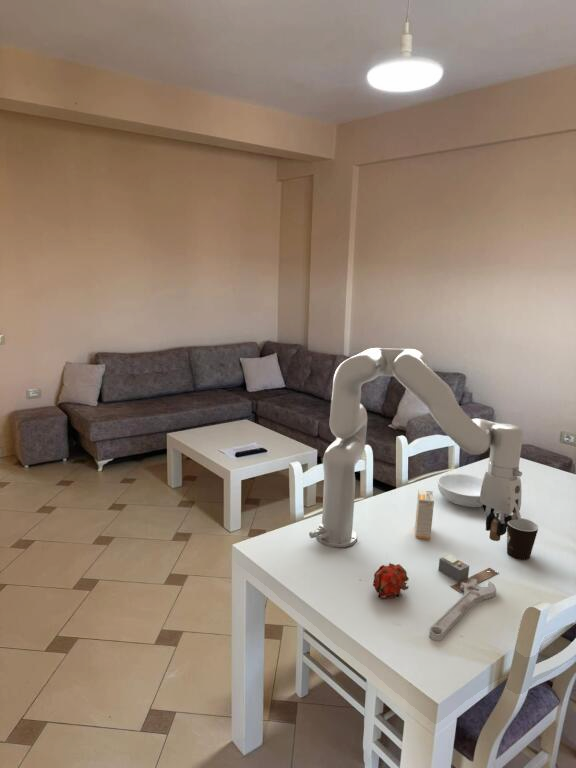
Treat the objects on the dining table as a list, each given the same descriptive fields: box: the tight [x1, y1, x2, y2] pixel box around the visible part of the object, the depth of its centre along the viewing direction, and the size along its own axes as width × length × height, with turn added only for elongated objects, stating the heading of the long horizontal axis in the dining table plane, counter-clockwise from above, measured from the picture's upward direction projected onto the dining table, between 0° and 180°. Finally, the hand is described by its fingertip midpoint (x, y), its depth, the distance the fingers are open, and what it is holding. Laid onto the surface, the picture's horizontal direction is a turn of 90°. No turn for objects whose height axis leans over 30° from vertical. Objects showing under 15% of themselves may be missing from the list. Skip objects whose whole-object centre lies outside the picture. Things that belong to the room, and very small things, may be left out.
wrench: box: [428, 579, 497, 642], centre depth 135 cm, size 8×2×30 cm
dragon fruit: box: [372, 562, 409, 600], centre depth 140 cm, size 8×8×12 cm
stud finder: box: [437, 554, 470, 583], centre depth 150 cm, size 4×7×4 cm, turn 35°
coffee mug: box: [506, 517, 539, 561], centre depth 162 cm, size 12×9×10 cm
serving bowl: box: [437, 473, 484, 508], centre depth 197 cm, size 21×21×7 cm
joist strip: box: [450, 567, 498, 593], centre depth 149 cm, size 17×3×1 cm, turn 125°
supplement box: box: [414, 489, 435, 540], centre depth 172 cm, size 8×5×13 cm, turn 168°
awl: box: [489, 512, 501, 542], centre depth 149 cm, size 3×3×8 cm
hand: (495, 531), depth 149 cm, fingers closed on awl, 2 cm apart
